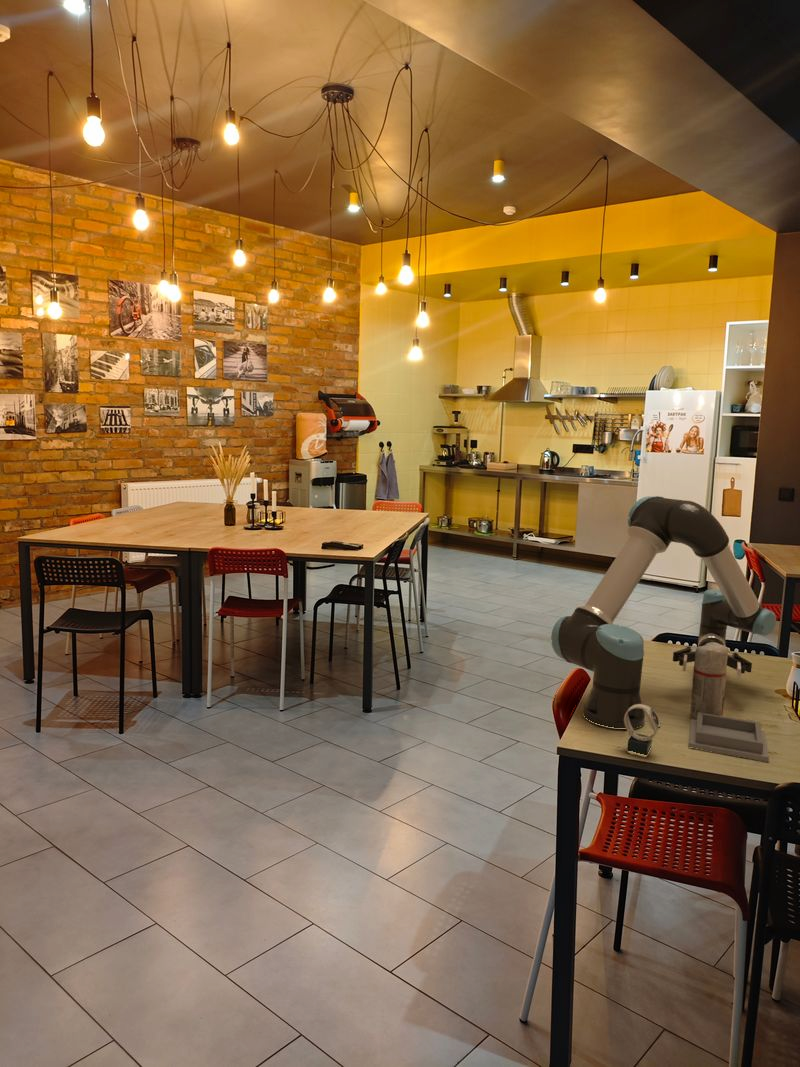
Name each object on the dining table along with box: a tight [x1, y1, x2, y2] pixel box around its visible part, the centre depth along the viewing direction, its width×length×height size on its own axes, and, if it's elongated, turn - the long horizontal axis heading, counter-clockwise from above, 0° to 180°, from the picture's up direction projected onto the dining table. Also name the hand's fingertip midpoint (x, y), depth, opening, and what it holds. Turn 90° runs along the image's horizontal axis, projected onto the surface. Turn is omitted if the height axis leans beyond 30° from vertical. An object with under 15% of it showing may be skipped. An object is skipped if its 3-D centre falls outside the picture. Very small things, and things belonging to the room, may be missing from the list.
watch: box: [624, 703, 661, 755], centre depth 180 cm, size 6×8×11 cm
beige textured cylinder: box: [689, 642, 730, 720], centre depth 202 cm, size 8×8×20 cm
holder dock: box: [688, 712, 770, 763], centre depth 188 cm, size 17×17×4 cm
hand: (711, 669), depth 209 cm, fingers open, 13 cm apart
